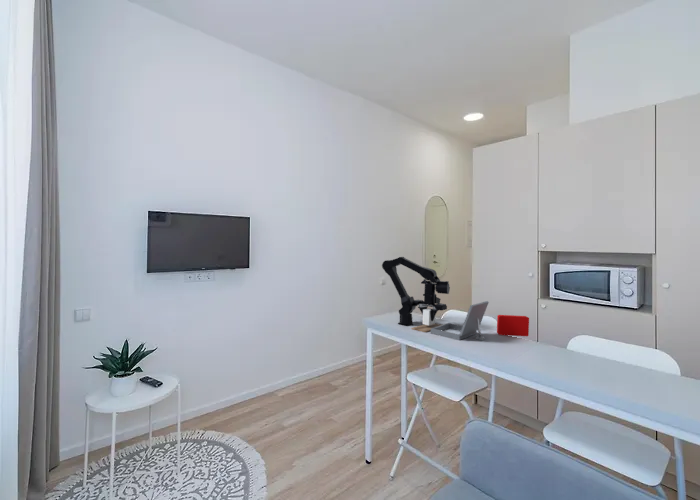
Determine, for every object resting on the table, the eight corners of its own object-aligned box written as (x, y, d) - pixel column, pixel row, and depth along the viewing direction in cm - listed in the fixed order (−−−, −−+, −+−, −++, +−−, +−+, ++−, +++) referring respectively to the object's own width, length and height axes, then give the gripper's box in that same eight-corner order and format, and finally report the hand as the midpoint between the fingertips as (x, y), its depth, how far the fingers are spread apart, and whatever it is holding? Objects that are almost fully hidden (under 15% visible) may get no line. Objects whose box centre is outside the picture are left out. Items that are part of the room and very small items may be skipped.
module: (422, 324, 190) (422, 309, 190) (428, 322, 194) (428, 308, 194) (428, 325, 187) (429, 310, 187) (434, 323, 191) (435, 309, 191)
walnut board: (411, 329, 187) (411, 328, 187) (431, 323, 201) (431, 322, 201) (425, 332, 180) (425, 331, 180) (445, 326, 195) (445, 325, 195)
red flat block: (526, 334, 181) (526, 316, 180) (528, 336, 178) (529, 317, 178) (496, 333, 182) (497, 314, 182) (498, 335, 179) (499, 315, 179)
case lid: (470, 305, 164) (472, 306, 163) (486, 301, 177) (488, 301, 177) (459, 334, 168) (461, 336, 167) (476, 328, 181) (478, 329, 181)
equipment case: (430, 333, 179) (431, 314, 179) (448, 327, 192) (449, 309, 192) (474, 343, 162) (475, 322, 162) (491, 336, 176) (491, 316, 176)
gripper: (452, 293, 189) (451, 321, 190) (423, 289, 202) (422, 315, 203) (442, 295, 181) (441, 324, 182) (412, 290, 194) (411, 318, 195)
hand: (428, 320), depth 190 cm, fingers closed on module, 4 cm apart
